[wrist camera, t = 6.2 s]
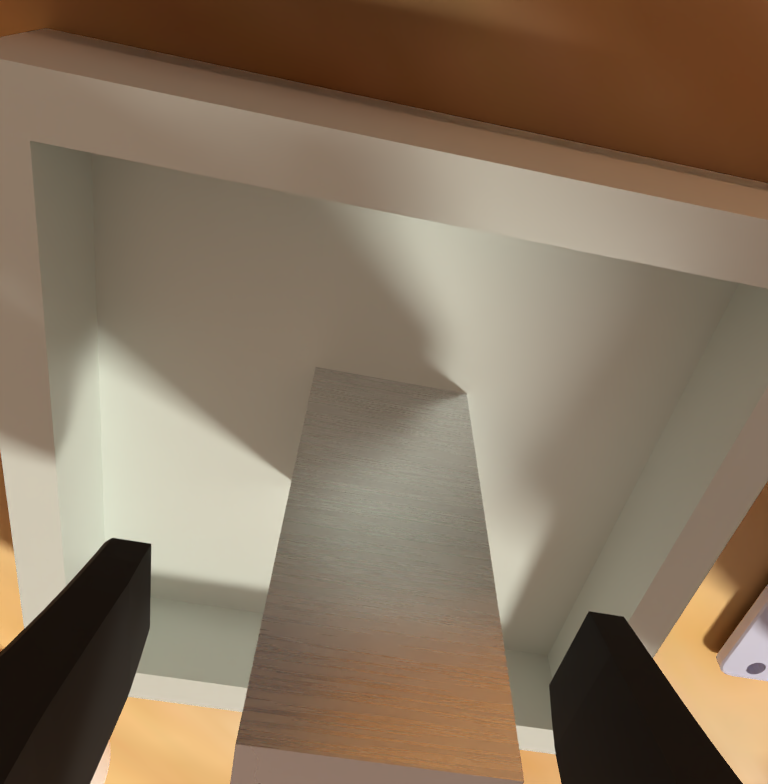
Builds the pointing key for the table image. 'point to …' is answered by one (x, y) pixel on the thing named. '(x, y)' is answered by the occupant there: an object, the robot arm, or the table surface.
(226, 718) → the table surface
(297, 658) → the pin
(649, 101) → the table surface
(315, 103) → the tray
